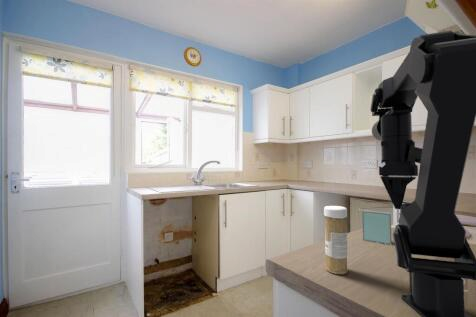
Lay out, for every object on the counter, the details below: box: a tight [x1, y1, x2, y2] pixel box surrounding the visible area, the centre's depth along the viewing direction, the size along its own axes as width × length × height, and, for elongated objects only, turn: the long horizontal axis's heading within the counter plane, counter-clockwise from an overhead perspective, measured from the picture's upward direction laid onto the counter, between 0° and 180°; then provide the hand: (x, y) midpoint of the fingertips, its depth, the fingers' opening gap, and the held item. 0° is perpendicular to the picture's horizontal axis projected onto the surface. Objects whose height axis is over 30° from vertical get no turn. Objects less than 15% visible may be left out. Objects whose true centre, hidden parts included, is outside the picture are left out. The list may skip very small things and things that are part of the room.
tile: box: [361, 209, 393, 245], centre depth 67 cm, size 2×7×8 cm, turn 56°
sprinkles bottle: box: [323, 205, 349, 275], centre depth 49 cm, size 5×5×13 cm
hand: (397, 206), depth 52 cm, fingers open, 6 cm apart
